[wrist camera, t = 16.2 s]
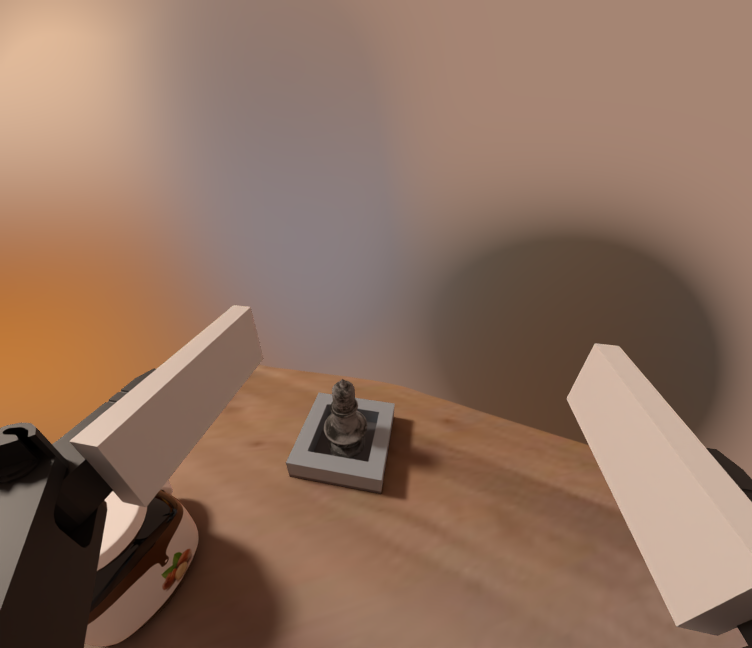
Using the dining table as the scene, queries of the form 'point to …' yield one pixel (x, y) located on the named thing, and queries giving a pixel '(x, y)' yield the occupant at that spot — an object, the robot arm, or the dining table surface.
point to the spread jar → (139, 564)
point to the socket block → (356, 472)
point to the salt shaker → (345, 422)
